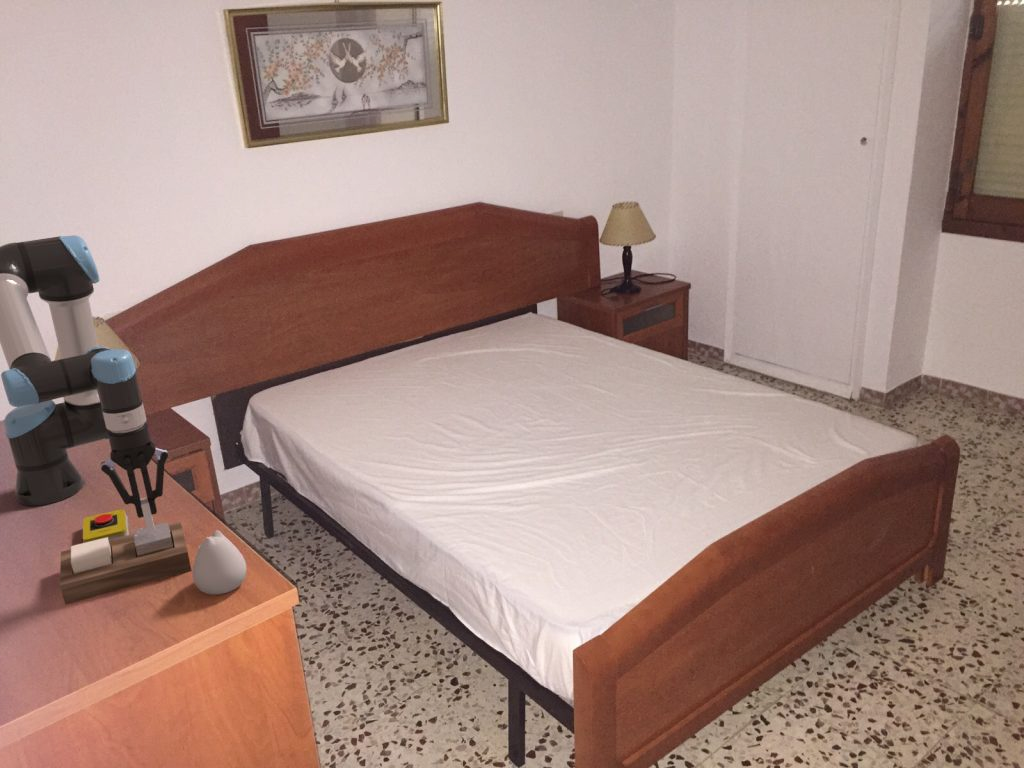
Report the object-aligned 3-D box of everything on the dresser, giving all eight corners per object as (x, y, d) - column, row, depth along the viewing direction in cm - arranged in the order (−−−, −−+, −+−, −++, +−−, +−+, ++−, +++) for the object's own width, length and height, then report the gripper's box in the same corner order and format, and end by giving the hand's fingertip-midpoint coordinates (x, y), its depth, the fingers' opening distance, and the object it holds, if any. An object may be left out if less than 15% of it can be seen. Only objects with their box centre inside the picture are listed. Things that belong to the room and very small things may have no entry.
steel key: (136, 544, 178) (133, 530, 177) (171, 535, 181) (168, 522, 180) (138, 560, 172) (135, 546, 171) (174, 550, 175) (171, 536, 174)
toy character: (219, 566, 175) (209, 517, 171) (259, 576, 171) (250, 525, 167) (184, 594, 166) (172, 542, 162) (225, 604, 163) (215, 552, 158)
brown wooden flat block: (66, 569, 177) (60, 551, 175) (184, 539, 186) (180, 522, 185) (65, 604, 165) (59, 585, 163) (191, 570, 175) (187, 551, 173)
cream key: (74, 560, 174) (71, 546, 172) (111, 550, 176) (107, 537, 175) (74, 576, 168) (70, 562, 166) (112, 567, 170) (108, 552, 169)
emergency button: (124, 500, 197) (126, 529, 184) (128, 517, 198) (130, 546, 186) (81, 510, 193) (80, 540, 180) (85, 527, 195) (84, 557, 182)
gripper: (91, 440, 161) (117, 545, 169) (163, 425, 166) (185, 528, 174) (91, 426, 167) (116, 528, 176) (160, 413, 172) (181, 512, 181)
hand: (150, 528), depth 175 cm, fingers closed
